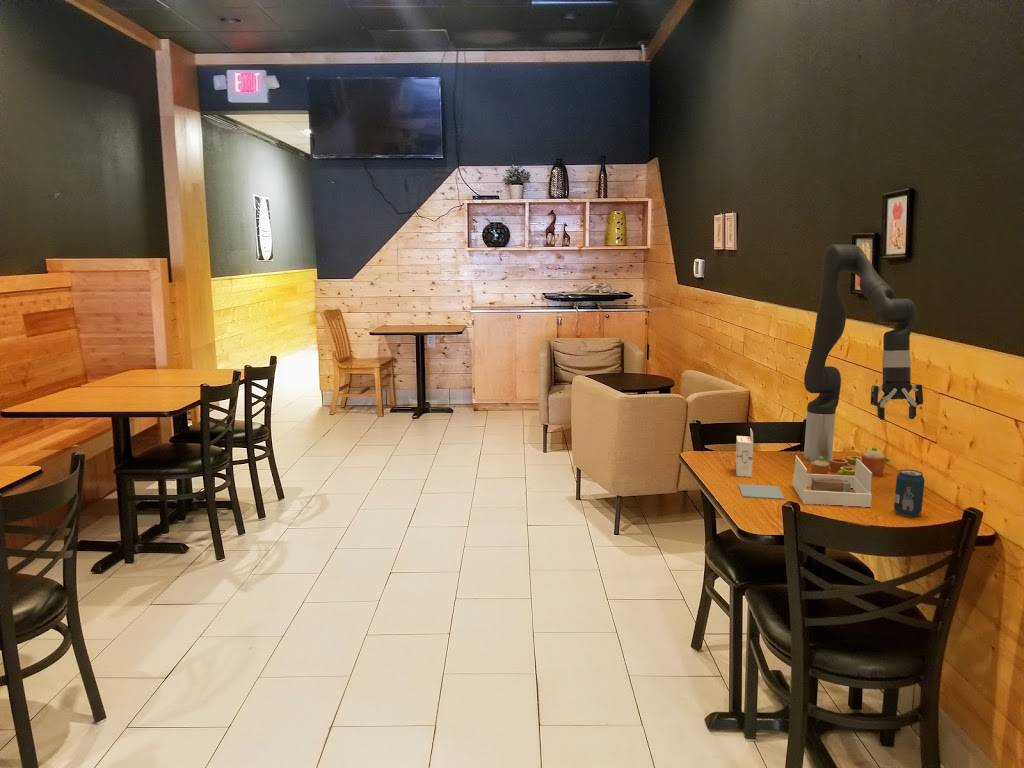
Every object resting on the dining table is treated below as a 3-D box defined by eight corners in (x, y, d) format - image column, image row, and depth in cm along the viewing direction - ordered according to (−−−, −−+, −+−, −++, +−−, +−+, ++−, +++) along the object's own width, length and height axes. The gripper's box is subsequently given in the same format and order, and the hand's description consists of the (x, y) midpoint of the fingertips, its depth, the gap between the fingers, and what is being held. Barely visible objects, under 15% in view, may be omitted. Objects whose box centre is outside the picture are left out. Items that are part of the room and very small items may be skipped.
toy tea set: (852, 463, 262) (855, 437, 260) (893, 475, 248) (896, 447, 247) (801, 474, 249) (802, 446, 248) (841, 487, 236) (843, 457, 234)
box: (810, 492, 230) (811, 477, 229) (845, 494, 228) (846, 478, 227) (813, 497, 225) (815, 481, 224) (849, 499, 223) (850, 483, 222)
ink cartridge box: (734, 469, 255) (736, 426, 252) (749, 469, 254) (751, 427, 251) (736, 476, 246) (738, 432, 244) (752, 477, 245) (754, 433, 243)
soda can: (912, 508, 215) (916, 468, 213) (926, 517, 208) (930, 475, 206) (888, 509, 215) (892, 468, 213) (901, 517, 208) (905, 475, 206)
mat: (738, 485, 237) (738, 483, 237) (778, 487, 235) (778, 486, 235) (742, 497, 225) (742, 495, 225) (784, 499, 223) (784, 498, 223)
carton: (792, 485, 237) (794, 454, 235) (854, 488, 234) (856, 457, 232) (804, 503, 219) (806, 470, 218) (870, 507, 216) (873, 474, 214)
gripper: (915, 364, 228) (915, 417, 229) (867, 365, 230) (867, 418, 231) (927, 365, 221) (927, 420, 222) (876, 366, 222) (876, 421, 223)
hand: (896, 419), depth 226 cm, fingers open, 8 cm apart
